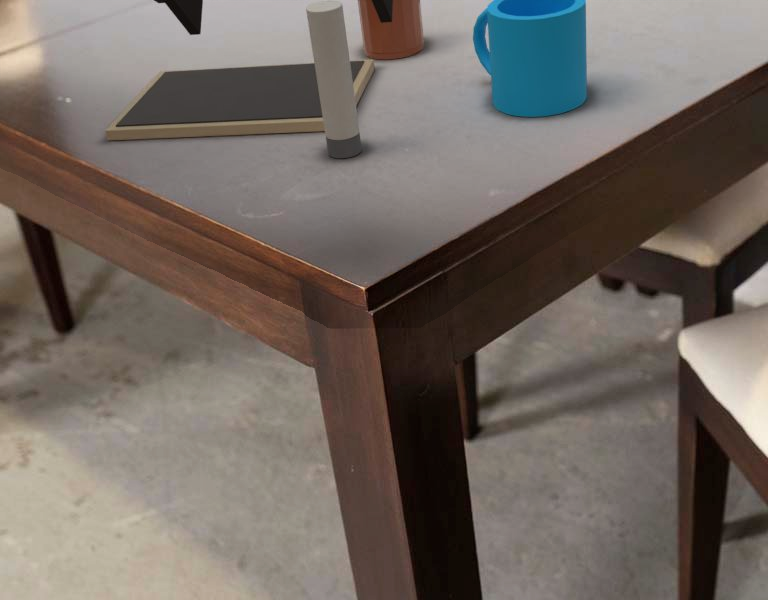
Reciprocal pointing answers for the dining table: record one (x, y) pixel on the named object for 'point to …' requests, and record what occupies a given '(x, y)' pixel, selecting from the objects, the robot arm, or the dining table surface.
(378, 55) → the pen cup
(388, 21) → the robot arm
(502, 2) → the mug
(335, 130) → the stylus
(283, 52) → the dining table surface
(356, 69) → the small chalkboard
